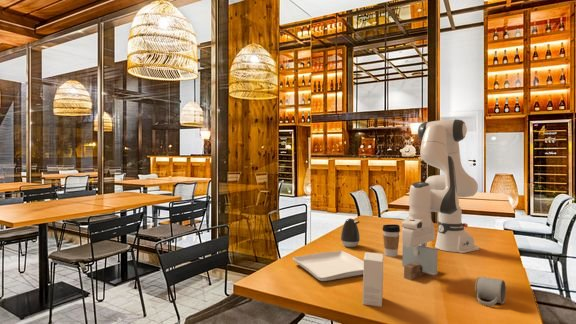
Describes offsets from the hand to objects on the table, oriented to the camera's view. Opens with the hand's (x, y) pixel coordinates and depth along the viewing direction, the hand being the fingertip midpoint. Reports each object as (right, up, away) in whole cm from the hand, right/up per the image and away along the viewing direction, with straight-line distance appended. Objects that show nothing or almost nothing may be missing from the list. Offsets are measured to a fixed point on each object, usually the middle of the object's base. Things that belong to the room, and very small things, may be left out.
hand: (419, 254), depth 140 cm
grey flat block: (0, -7, 0) cm, 7 cm away
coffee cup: (-4, -8, +26) cm, 28 cm away
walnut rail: (0, -8, 0) cm, 9 cm away
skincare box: (-26, -9, -26) cm, 38 cm away
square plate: (-36, -9, +6) cm, 37 cm away
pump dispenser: (-21, -8, +43) cm, 48 cm away
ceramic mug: (+14, -9, -26) cm, 31 cm away
